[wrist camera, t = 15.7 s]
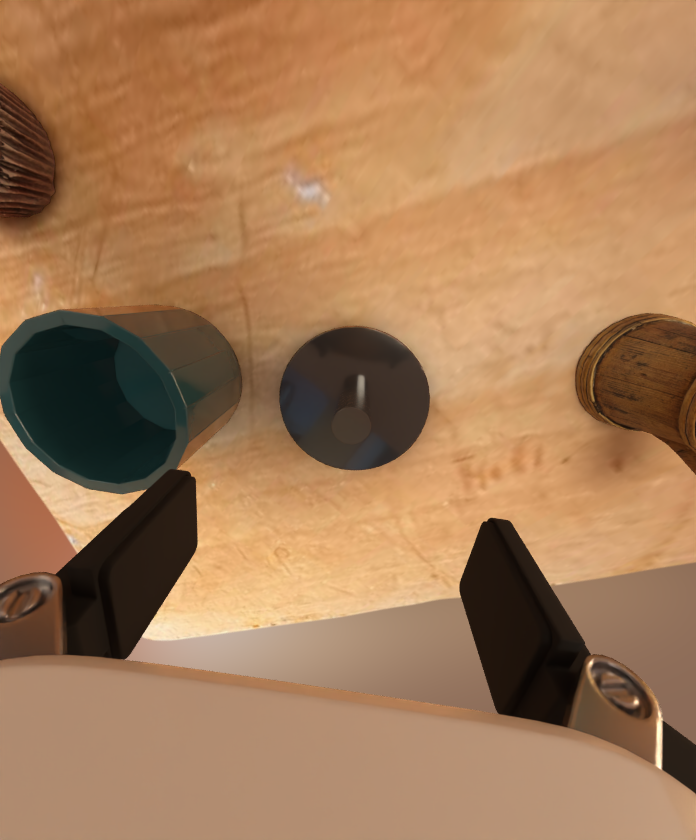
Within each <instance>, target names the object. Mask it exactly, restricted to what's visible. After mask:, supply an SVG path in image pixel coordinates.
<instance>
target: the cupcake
mask: <svg viewBox="0 0 696 840" xmlns="http://www.w3.org/2000/svg"><path fill="white" fill-rule="evenodd" d="M54 169H55V161H54V156H53V152H52V149H51V147H50V141H49V139H48V137H47V134H46V132H45V130H44V129H43V127H42V125H41V123H40V122H39V121H38V120H37V119H36V117H35V115H34V114H33V113H32V112H31V111H29V109H28V108H27V107H26V106H25V104H24V103H23V102H22V101H21V100H20V99H19V98H18V97H17V96H16V95H15V94H13V93H12V92H11V91H10V90H8V89H7V88H6V87H4V86H3V85H2V84H1V83H0V217H30V216H31V215H33V214H36V213H40V212H41V211H42V209H43V208H44V206H45V205H47V204H49V203H50V198H51V195H53V194H54V193H55V189H54V183H53V178H54Z"/></svg>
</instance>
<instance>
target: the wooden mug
mask: <svg viewBox="0 0 696 840" xmlns="http://www.w3.org/2000/svg"><path fill="white" fill-rule="evenodd" d="M576 389H577V392H578V396H579V399H580V401H581V403H582V405H583V406H584V408H585V410H586V411H587V412H588V413H589V414H591V415H592V416H593V417H594V418H595V419H597V420H599V421H602V422H605V423H608V424H611V425H613V426H616V427H619V428H622V429H625V430H633V431H644V432H647V433H650V434H652V435H654V436H655V437H657V438H658V439H660V440H662V441H663V442H665V443H666V444H667V445H668V446H670V447H671V448H672V449H673V450H674V451H675V452H676V453H677V454H678V455H679V456H680V458H681V459H682V460H683V461H684V462H685V463H686V464H687V465H688V467H689V468H690V469H691V470H692V471H693V472H694V473H695V474H696V325H695V324H693V323H692V322H689V321H686V320H683V319H680V318H676V317H672V316H668V315H663V314H649V313H646V314H641V315H636V316H631V317H628V318H626V319H624V320H622V321H619V322H617V323H615V324H613V325H612V326H610V327H609V328H608V329H606V330H605V331H603V332H602V333H601V334H599V335H598V336H597V337H596V339H595V340H594V341H593V342H592V343H591V344H590V345H589V346H588V347H587V349H586V351H585V352H584V354H583V356H582V357H581V359H580V361H579V365H578V369H577V373H576Z"/></svg>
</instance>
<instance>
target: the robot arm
mask: <svg viewBox="0 0 696 840" xmlns="http://www.w3.org/2000/svg"><path fill="white" fill-rule="evenodd" d="M196 548H197V507H196V479H195V477H191V474H190V472H188V471H182V470H175V469H169V470H168V471H167V472H166V473H164V474H163V475H162V476H161V477H160V478H159V479H158V480H157V481H156V482H155V483H154V484H153V485H152V486H151V487H150V488H148V489H147V490H146V491H145V492H144V493H143V494H142V495H141V496H140V497H139V498H138V499H137V500H136V501H135V502H134V503H132V504H131V505H130V506H129V507H128V508H127V509H125V510H124V511H123V512H122V513H121V514H120V515H119V516H117V517H116V518H115V519H114V520H113V521H112V522H111V523H110V524H109V525H108V526H107V527H106V528H105V529H104V530H102V531H101V532H100V533H99V534H98V535H97V536H96V537H95V538H94V539H93V540H92V541H91V542H90V543H89V544H87V545H86V546H85V547H84V548H83V549H82V550H81V551H80V552H79V553H78V554H77V555H76V556H75V557H74V558H72V559H71V560H70V561H69V562H68V563H67V564H66V565H65V566H64V567H63V568H62V569H61V570H60V571H59V572H57V573H56V574H51V573H47V572H38V573H30V574H25V575H21V576H18V577H15V578H13V579H10V580H7V581H6V582H4V583H2V584H0V840H696V745H695V744H693V743H692V742H691V741H690V740H688V739H687V738H686V737H684V736H683V735H682V734H680V733H679V732H678V731H676V730H675V729H674V728H672V727H671V726H669V725H668V724H667V723H665V722H664V721H663V716H662V711H661V707H660V705H659V703H658V701H657V699H656V697H655V695H654V694H653V692H652V691H651V690H650V688H649V687H648V686H647V685H646V684H645V682H644V681H643V680H642V679H641V678H639V677H638V676H637V675H636V674H635V673H634V672H633V671H631V670H630V669H629V668H627V667H626V666H625V665H623V664H621V663H620V662H618V661H616V660H614V659H613V658H610V657H607V656H604V655H597V654H593V655H591V654H590V653H589V651H588V649H587V648H586V646H585V642H584V640H583V639H582V637H581V636H580V634H579V632H578V631H577V629H576V627H575V626H574V624H573V622H572V621H571V619H570V618H569V616H568V614H567V613H566V611H565V609H564V608H563V606H562V605H561V603H560V601H559V600H558V598H557V596H556V595H555V593H554V592H553V590H552V588H551V587H550V585H549V583H548V582H547V580H546V578H545V577H544V575H543V574H542V572H541V570H540V569H539V567H538V565H537V564H536V562H535V561H534V559H533V557H532V556H531V554H530V552H529V551H528V549H527V548H526V546H525V544H524V543H523V541H522V539H521V538H520V536H519V535H518V533H517V531H516V530H515V528H514V526H513V525H512V523H511V522H510V521H508V520H503V519H496V518H489V519H488V521H487V522H486V521H484V522H483V523H482V524H481V527H480V530H479V532H478V535H477V538H476V540H475V543H474V546H473V549H472V551H471V554H470V557H469V559H468V562H467V565H466V567H465V570H464V573H463V575H462V578H461V581H460V595H461V598H462V602H463V604H464V608H465V611H466V615H467V618H468V621H469V624H470V628H471V631H472V634H473V637H474V641H475V644H476V647H477V650H478V654H479V657H480V660H481V663H482V667H483V670H484V673H485V676H486V680H487V683H488V686H489V689H490V693H491V696H492V699H493V702H494V706H495V708H496V710H497V712H498V713H499V714H495V713H489V712H483V711H477V710H471V709H464V708H458V707H451V706H444V705H438V704H431V703H425V702H418V701H411V700H405V699H399V698H392V697H385V696H378V695H372V694H365V693H359V692H352V691H345V690H338V689H331V688H325V687H318V686H311V685H304V684H297V683H290V682H283V681H276V680H269V679H262V678H255V677H248V676H241V675H234V674H226V673H219V672H213V671H205V670H198V669H191V668H184V667H177V666H170V665H162V664H153V663H146V662H137V661H129V660H124V659H126V658H127V657H128V656H129V655H130V654H131V652H132V650H133V649H134V647H135V646H136V644H137V643H138V641H139V640H140V638H141V637H142V635H143V633H144V632H145V630H146V629H147V627H148V626H149V624H150V622H151V621H152V619H153V618H154V616H155V615H156V613H157V611H158V610H159V608H160V607H161V605H162V604H163V602H164V600H165V599H166V597H167V596H168V594H169V593H170V591H171V589H172V588H173V586H174V585H175V583H176V582H177V580H178V578H179V577H180V575H181V574H182V572H183V571H184V569H185V567H186V566H187V564H188V563H189V561H190V560H191V558H192V556H193V555H194V553H195V551H196ZM121 659H123V660H121Z"/></svg>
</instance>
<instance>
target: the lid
mask: <svg viewBox="0 0 696 840" xmlns="http://www.w3.org/2000/svg"><path fill="white" fill-rule="evenodd" d="M279 402H280V410H281V414H282V418H283V421H284V423H285V426H286V428H287V430H288V432H289V433H290V435H291V437H292V438H293V439H294V441H295V442H296V443H297V445H298V446H299V447H300V448H301V449H302V450H303V451H305V452H306V453H307V454H308V455H310V456H311V457H313V458H314V459H316V460H317V461H319V462H322V463H324V464H326V465H329V466H332V467H335V468H339V469H345V470H365V469H371V468H375V467H379V466H382V465H384V464H387V463H389V462H391V461H393V460H395V459H396V458H398V457H399V456H400V455H402V454H403V453H404V452H405V451H407V450H408V449H409V448H410V447H411V446H412V444H413V443H414V442H415V441H416V440H417V438H418V436H419V435H420V433H421V432H422V429H423V427H424V425H425V422H426V419H427V416H428V411H429V403H430V395H429V386H428V382H427V378H426V376H425V373H424V371H423V368H422V366H421V365H420V363H419V361H418V360H417V358H416V357H415V356H414V354H413V353H412V352H411V351H410V350H409V349H408V348H407V347H406V346H405V345H404V344H403V343H402V342H400V341H399V340H398V339H396V338H395V337H393V336H391V335H389V334H387V333H385V332H383V331H380V330H377V329H373V328H369V327H362V326H345V327H339V328H334V329H331V330H328V331H325V332H323V333H321V334H319V335H317V336H315V337H314V338H312V339H311V340H309V341H308V342H307V343H305V344H304V345H303V346H302V347H301V348H300V349H299V350H298V351H297V352H296V353H295V355H294V356H293V357H292V359H291V360H290V362H289V364H288V365H287V367H286V370H285V372H284V374H283V378H282V381H281V386H280V400H279Z"/></svg>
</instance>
